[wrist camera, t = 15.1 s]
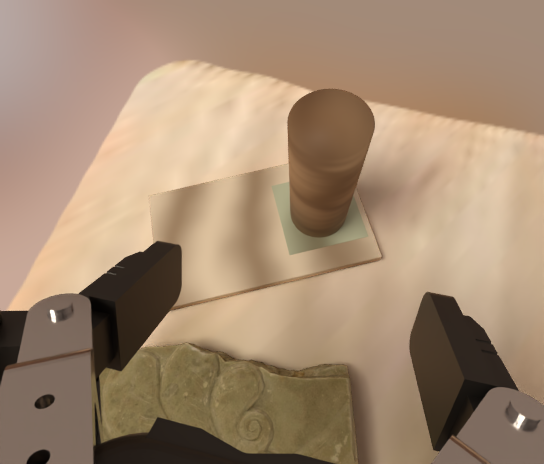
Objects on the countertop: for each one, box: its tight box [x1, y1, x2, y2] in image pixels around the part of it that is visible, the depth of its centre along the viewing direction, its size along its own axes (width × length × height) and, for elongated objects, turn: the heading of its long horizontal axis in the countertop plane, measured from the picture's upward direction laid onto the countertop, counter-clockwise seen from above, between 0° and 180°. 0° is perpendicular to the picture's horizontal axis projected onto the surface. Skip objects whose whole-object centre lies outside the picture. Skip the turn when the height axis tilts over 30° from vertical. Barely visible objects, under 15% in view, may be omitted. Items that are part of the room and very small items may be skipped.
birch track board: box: [149, 164, 382, 311], centre depth 32 cm, size 19×11×1 cm, turn 103°
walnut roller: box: [287, 89, 375, 238], centre depth 26 cm, size 5×5×12 cm
